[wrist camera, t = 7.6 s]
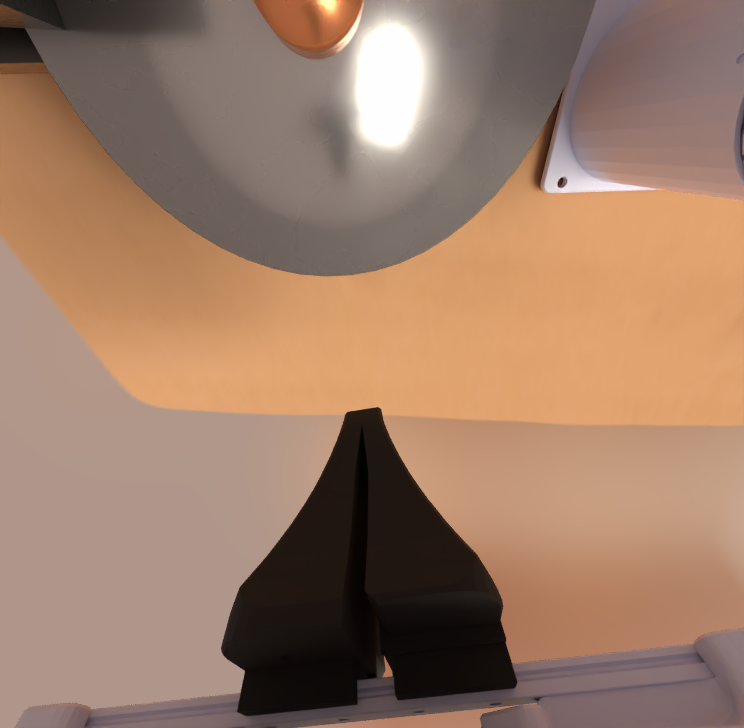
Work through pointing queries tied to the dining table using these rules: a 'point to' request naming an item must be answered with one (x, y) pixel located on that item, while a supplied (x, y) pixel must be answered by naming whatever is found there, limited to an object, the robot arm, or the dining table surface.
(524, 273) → the dining table surface
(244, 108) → the cooker lid
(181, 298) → the dining table surface
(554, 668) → the robot arm
